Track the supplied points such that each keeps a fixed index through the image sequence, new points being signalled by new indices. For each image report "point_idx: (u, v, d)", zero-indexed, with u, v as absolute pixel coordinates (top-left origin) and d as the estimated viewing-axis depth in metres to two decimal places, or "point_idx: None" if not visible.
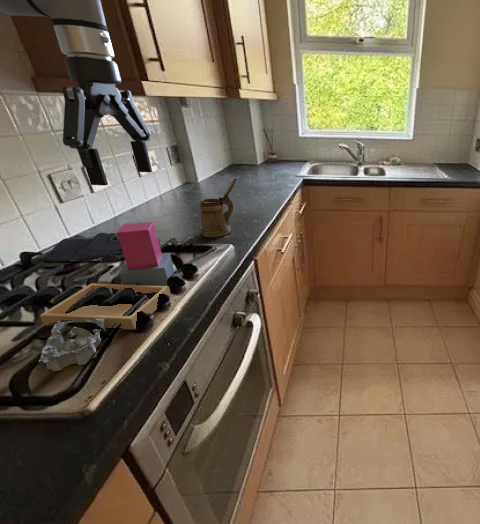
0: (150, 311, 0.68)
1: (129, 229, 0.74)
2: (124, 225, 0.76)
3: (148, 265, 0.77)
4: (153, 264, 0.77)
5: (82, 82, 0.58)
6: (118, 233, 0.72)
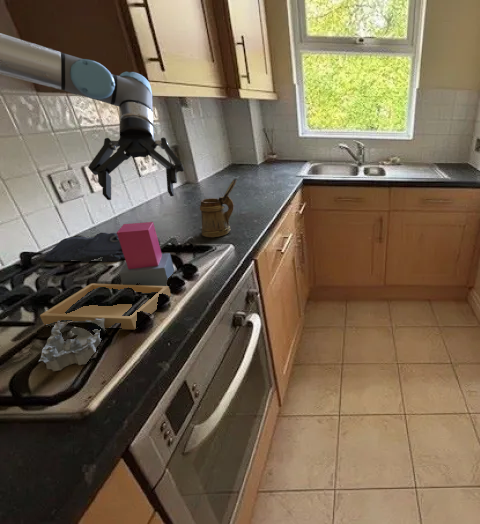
0: (150, 311, 0.68)
1: (129, 229, 0.74)
2: (124, 225, 0.76)
3: (148, 265, 0.77)
4: (153, 264, 0.77)
5: None
6: (118, 233, 0.72)
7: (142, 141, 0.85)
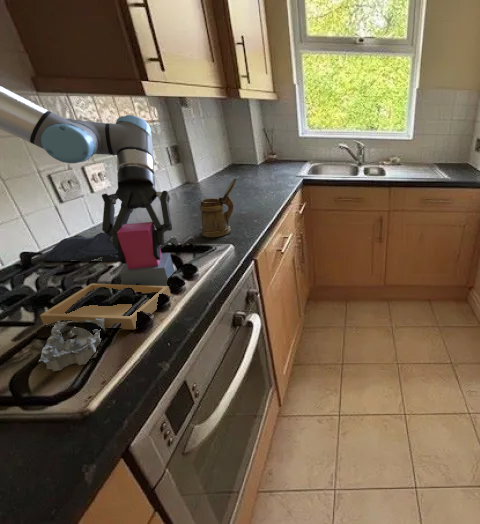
0: (150, 311, 0.68)
1: (129, 229, 0.74)
2: (124, 225, 0.76)
3: (148, 265, 0.77)
4: (153, 264, 0.77)
5: (154, 187, 0.82)
6: (118, 233, 0.72)
7: (142, 192, 0.79)
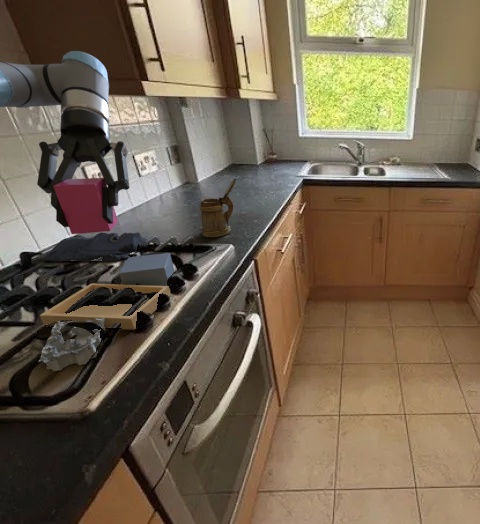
0: (150, 311, 0.68)
1: (70, 183, 0.60)
2: (66, 180, 0.61)
3: (97, 230, 0.62)
4: (104, 229, 0.63)
5: (108, 137, 0.68)
6: (55, 187, 0.58)
7: (91, 141, 0.64)
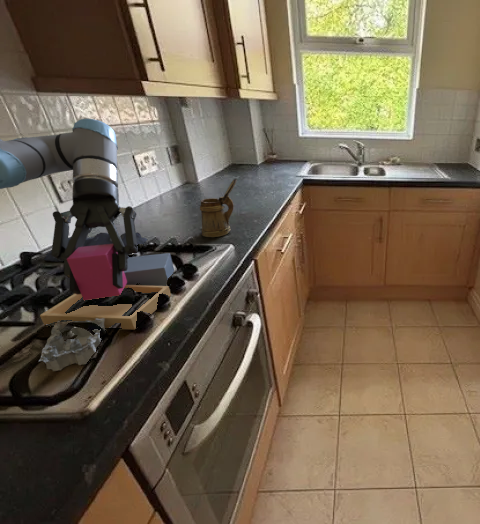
0: (150, 311, 0.68)
1: (83, 253, 0.63)
2: (79, 248, 0.65)
3: (108, 295, 0.65)
4: (114, 294, 0.66)
5: (118, 202, 0.71)
6: (68, 259, 0.61)
7: (101, 208, 0.67)
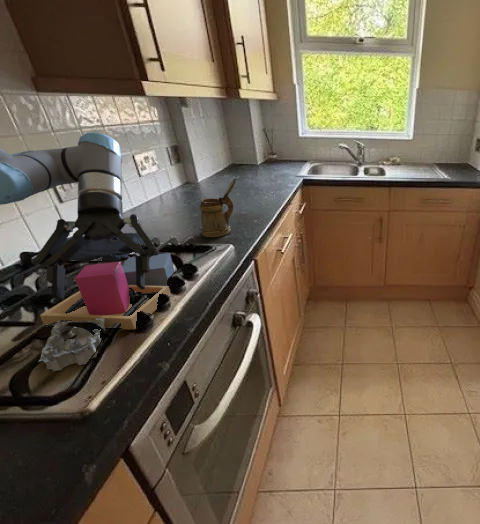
0: (150, 311, 0.68)
1: (90, 272, 0.64)
2: (86, 267, 0.66)
3: (114, 312, 0.67)
4: (120, 311, 0.68)
5: (121, 214, 0.72)
6: (76, 279, 0.62)
7: (106, 222, 0.69)
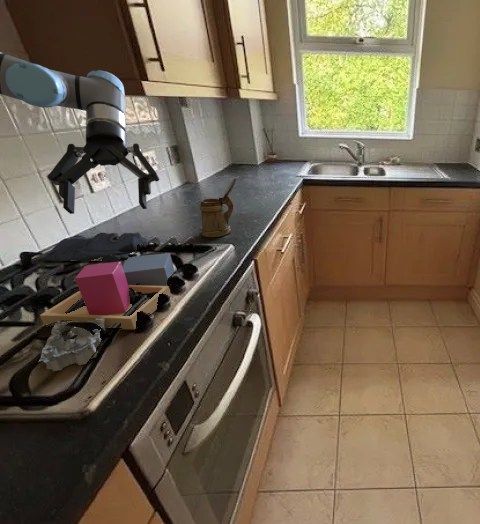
0: (150, 311, 0.68)
1: (90, 272, 0.64)
2: (86, 267, 0.66)
3: (114, 312, 0.67)
4: (120, 311, 0.68)
5: (125, 144, 0.79)
6: (76, 279, 0.62)
7: (111, 147, 0.76)
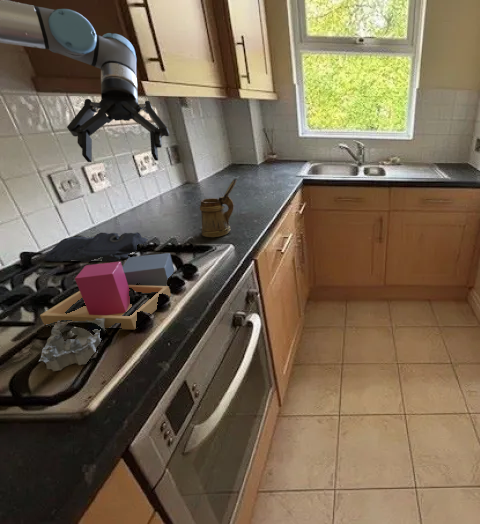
0: (150, 311, 0.68)
1: (90, 272, 0.64)
2: (86, 267, 0.66)
3: (114, 312, 0.67)
4: (120, 311, 0.68)
5: (137, 102, 0.85)
6: (76, 279, 0.62)
7: (125, 103, 0.82)
